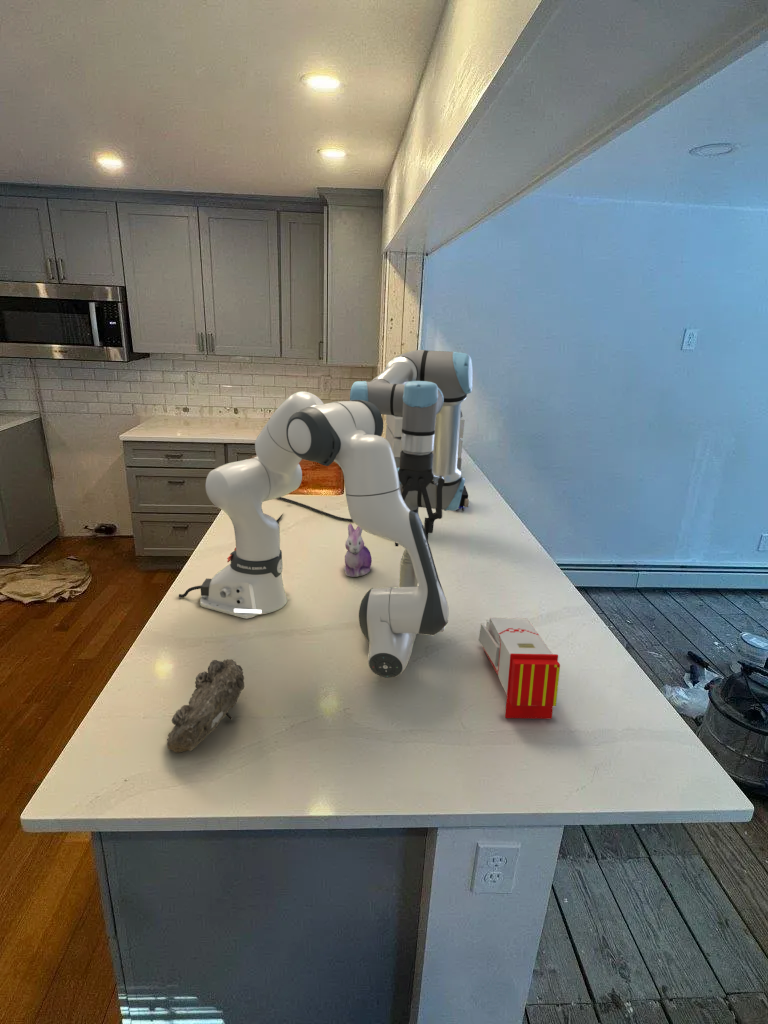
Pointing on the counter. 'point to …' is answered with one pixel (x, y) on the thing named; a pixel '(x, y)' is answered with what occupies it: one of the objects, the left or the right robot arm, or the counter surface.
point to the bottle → (407, 572)
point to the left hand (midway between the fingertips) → (407, 598)
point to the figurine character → (464, 499)
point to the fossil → (206, 705)
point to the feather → (279, 518)
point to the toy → (522, 666)
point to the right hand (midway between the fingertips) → (410, 544)
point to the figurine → (356, 554)
